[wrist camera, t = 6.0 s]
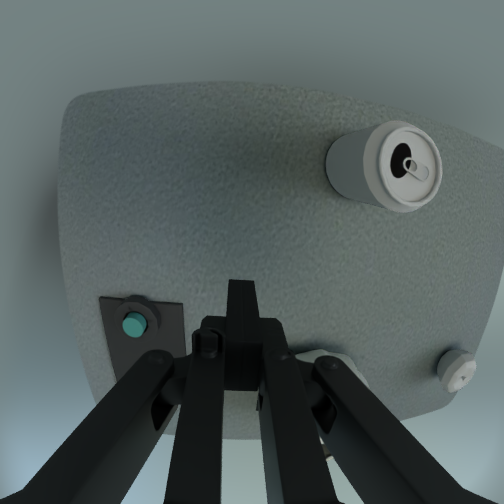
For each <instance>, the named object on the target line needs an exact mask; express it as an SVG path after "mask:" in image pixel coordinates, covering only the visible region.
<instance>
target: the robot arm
mask: <svg viewBox="0 0 504 504" xmlns="http://www.w3.org/2000/svg"><path fill="white" fill-rule="evenodd" d="M257 389H259V393H258V400H257V407H256V411H259V420H260V430H261V440H262V451H263V462H264V472H265V482H266V491H267V502H268V504H345V503H341V502H339V501H338V499H337V496H336V493H335V490H334V486H333V483H332V479H331V475H330V472H329V468H328V465H327V461H326V458H325V454H324V451H323V447H322V444H321V441H320V438H321V439H322V441H323V443H324V444H325V446H326V447H327V449H328V450H329V452H330V453H331V455H332V456H333V458H334V459H335V461H336V462H337V464H338V465H339V467H340V468H341V470H342V472H343V473H344V475H345V476H346V477H347V479H348V480H349V482H350V483H351V485H352V486H353V488H354V489H355V490H356V492H357V494H358V495H359V496H360V498H361V499H362V501H363V502H364V504H498V503H495V502H493V501H491V500H488V499H486V498H483V497H481V496H479V495H476V494H474V493H472V492H470V491H468V490H465V489H464V488H462V487H461V486H460V485H459V484H458V483H457V481H455V480H454V478H453V477H452V476H451V475H450V474H449V473H448V472H447V471H446V470H445V469H444V468H443V467H442V466H441V465H440V464H439V463H438V462H437V461H436V460H435V458H434V457H433V456H432V455H431V454H430V453H429V452H428V451H427V450H426V449H425V448H424V447H423V446H422V445H421V444H420V443H419V442H418V441H417V439H416V438H415V437H414V436H413V435H412V434H411V433H410V432H409V431H408V430H407V429H406V428H405V427H404V426H403V425H402V424H401V423H400V421H399V420H398V419H397V418H396V417H395V416H394V415H393V414H392V413H391V412H390V411H389V410H388V409H387V408H386V407H385V405H384V404H383V403H382V402H381V401H380V400H379V399H378V398H377V397H376V396H375V395H374V394H373V393H372V392H371V391H370V389H369V388H368V387H367V386H366V385H365V384H364V383H363V382H362V381H361V380H360V379H359V378H358V377H357V376H356V374H355V373H354V372H353V371H352V370H351V369H350V368H349V367H348V366H347V365H346V364H345V363H344V362H343V361H342V360H341V359H340V358H338V357H335V356H331V355H322V356H319V357H317V358H316V359H315V361H314V363H311V362H306V361H302V360H299V359H297V358H296V356H295V354H294V353H293V351H291V350H290V349H289V348H288V345H287V341H286V338H285V335H284V331H283V327H282V324H281V322H280V321H278V320H277V319H276V318H260V317H259V310H258V304H257V297H256V291H255V284H254V281H251V280H233V279H229V284H228V298H227V312H226V317H223V316H206V317H205V318H204V319H203V320H202V322H201V327H200V329H197V330H195V331H194V332H193V334H192V353H191V354H190V355H188V356H185V357H179V358H173V355H172V354H171V353H170V352H168V351H165V350H161V349H154V350H150V351H147V352H145V353H144V354H143V355H142V356H141V357H140V358H139V359H138V360H137V361H136V362H135V363H134V365H133V366H132V367H131V368H130V369H129V370H128V371H127V372H126V373H125V374H124V376H123V377H122V378H121V379H120V380H119V381H118V382H117V383H116V384H115V385H114V387H113V388H112V389H111V390H110V391H109V392H108V393H107V394H106V395H105V397H104V398H103V399H102V400H101V401H100V402H99V403H98V404H97V405H96V407H95V408H94V409H93V410H92V411H91V412H90V413H89V414H88V416H87V417H86V418H85V419H84V420H83V421H82V422H81V423H80V425H79V426H78V427H77V428H76V429H75V430H74V431H73V432H72V433H71V435H70V436H69V437H68V438H67V439H66V440H65V441H64V442H63V444H62V445H61V446H60V447H59V448H58V449H57V450H56V452H55V453H54V454H53V455H52V456H51V457H50V458H49V460H48V461H47V462H46V463H45V464H44V465H43V466H42V468H41V469H40V470H39V471H38V472H37V473H36V474H35V476H34V477H33V478H32V479H31V480H30V481H29V483H28V484H27V485H26V486H25V487H24V488H23V489H22V490H20V491H18V492H16V493H14V494H12V495H10V496H7V497H5V498H3V499H0V504H120V503H121V502H122V500H123V499H124V497H125V495H126V494H127V492H128V490H129V488H130V487H131V485H132V484H133V482H134V480H135V479H136V477H137V475H138V474H139V472H140V470H141V469H142V467H143V465H144V464H145V462H146V460H147V459H148V457H149V455H150V453H151V452H152V450H153V449H154V447H155V445H156V444H157V442H158V440H159V439H160V437H161V435H162V434H163V432H164V430H165V428H166V427H167V425H168V423H169V422H170V420H171V418H172V417H173V415H174V413H175V411H176V410H177V408H178V404H181V408H180V413H179V418H178V423H177V429H176V434H175V440H174V446H173V451H172V457H171V462H170V468H169V474H168V480H167V486H166V492H165V499H164V503H163V504H221V481H222V479H221V478H222V477H221V476H222V435H223V404H224V390H232V391H257ZM319 436H320V437H319Z"/></svg>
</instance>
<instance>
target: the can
mask: <svg viewBox="0 0 504 504" xmlns="http://www.w3.org/2000/svg"><path fill="white" fill-rule="evenodd" d="M326 171H327V175H328V178H329V180H330V183H331V185H332V186H333V187H334V188H335V190H336V191H337V192H338V193H340V194H341V195H343V196H344V197H345V198H348V199H352V200H355V201H359V202H363V203H367V204H371V205H374V206H378V207H381V208H385V209H389V210H392V211H395V212H399V213H403V212H412V211H414V210H416V209H418V208H420V207H421V206H422V205H424V204H426V203H428V202H429V201H430V200H431V199H432V198H433V197H434V196H435V195H436V193H437V191H438V189H439V186H440V183H441V178H442V161H441V158H440V154H439V151H438V149H437V147H436V145H435V144H434V142H433V140H432V139H431V138H430V137H429V136H428V135H427V134H426V133H425V132H424V131H422V130H420V129H418V128H417V127H415V126H413V125H411V124H409V123H407V122H405V121H395V120H393V121H389V122H386V123H382V124H379V125H375V126H372V127H369V128H366V129H362V130H359V131H356V132H353V133H350V134H347V135H344V136H341V137H340V138H339V139H337V140H336V141H335V142H334V143H333V144H332V146H331V148H330V149H329V151H328V154H327V159H326Z"/></svg>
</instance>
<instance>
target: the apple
mask: <svg viewBox="0 0 504 504" xmlns="http://www.w3.org/2000/svg"><path fill="white" fill-rule="evenodd" d="M475 370H476V363H475V359H474V357H473V355H472V353H470V352H468V351H465V350H450V351H448V352H446V353H445V354H444V355H443V356H442V357H441V359H440V361H439V363H438V366H437V374H438V377H439V380H440V382H441V385H442V388H443V390H444V391H446V392H448V393H451V392H455V391H458V390H461V389H462V388H463V387H464V386H465V385H466V384H467V383H468V382H469V381H470V380H471V378H472V376H473V374H474V372H475Z"/></svg>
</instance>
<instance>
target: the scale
mask: <svg viewBox="0 0 504 504" xmlns="http://www.w3.org/2000/svg"><path fill="white" fill-rule="evenodd" d="M99 302H100V308H101V313H102V319H103V324H104V329H105V334H106V339H107V343H108V347H109V352H110V356H111V360H112V364H113V368H114V371H115V375H116V379H117V382H118V381H119V380H120V379H121V378H122V377H123V376H124V374H125V373H126V372H127V371H128V370H129V369H130V368H131V367H132V366H133V365H134V363H135V362H136V361H137V360H138V359H139V358H140V357H141V356H142V355H143V354H144V353H145V352H147V351H150V350H154V349H161V350H165V351H168V352H170V353H171V354H172V355H173V358H179V357H185V356H186V348H185V334H184V318H183V303H169V302H155V301H148V300H147V299H145V298H144V297H136V296H131V297H129V298H127V299H121V298H111V297H100V298H99ZM131 312H137V313H140V314H141V315H143V316H144V318H145V319H146V323H147V325H146V328H145V330H144V332H143V333H142V335H141V336H139V337H131V336H129V335H128V334H127V333H126V332H125V331H124V329H123V321H124V320H125V318H126V317H127V316H128V314H129V313H131Z"/></svg>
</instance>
